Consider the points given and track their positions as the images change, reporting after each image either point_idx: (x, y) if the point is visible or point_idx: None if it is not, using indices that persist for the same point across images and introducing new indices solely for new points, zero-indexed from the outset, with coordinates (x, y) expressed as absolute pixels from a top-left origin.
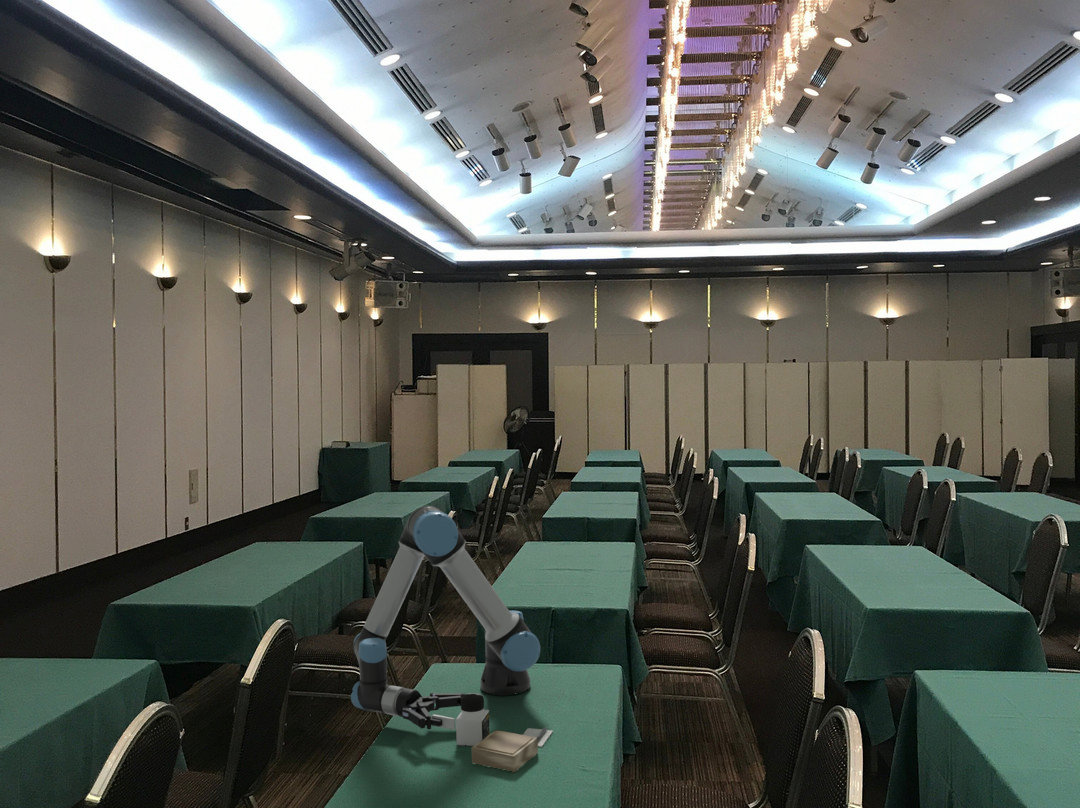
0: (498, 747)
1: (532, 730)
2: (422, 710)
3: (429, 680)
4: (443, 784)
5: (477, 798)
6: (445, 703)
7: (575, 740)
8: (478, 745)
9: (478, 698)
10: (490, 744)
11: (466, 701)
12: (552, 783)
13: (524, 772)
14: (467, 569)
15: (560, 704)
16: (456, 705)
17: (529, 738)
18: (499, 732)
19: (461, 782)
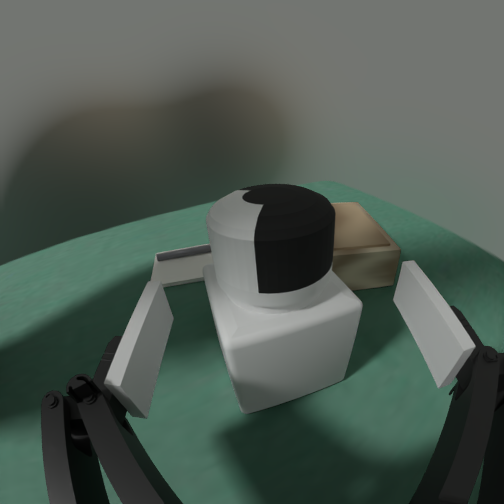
0: (355, 219)
1: (161, 275)
2: (480, 457)
3: None
4: (475, 272)
5: (444, 229)
6: (171, 498)
7: (186, 227)
8: (383, 241)
9: (278, 184)
10: (358, 230)
11: (330, 203)
12: (339, 202)
13: None
14: None
15: (30, 292)
16: (139, 444)
17: None
18: None
19: (447, 259)
